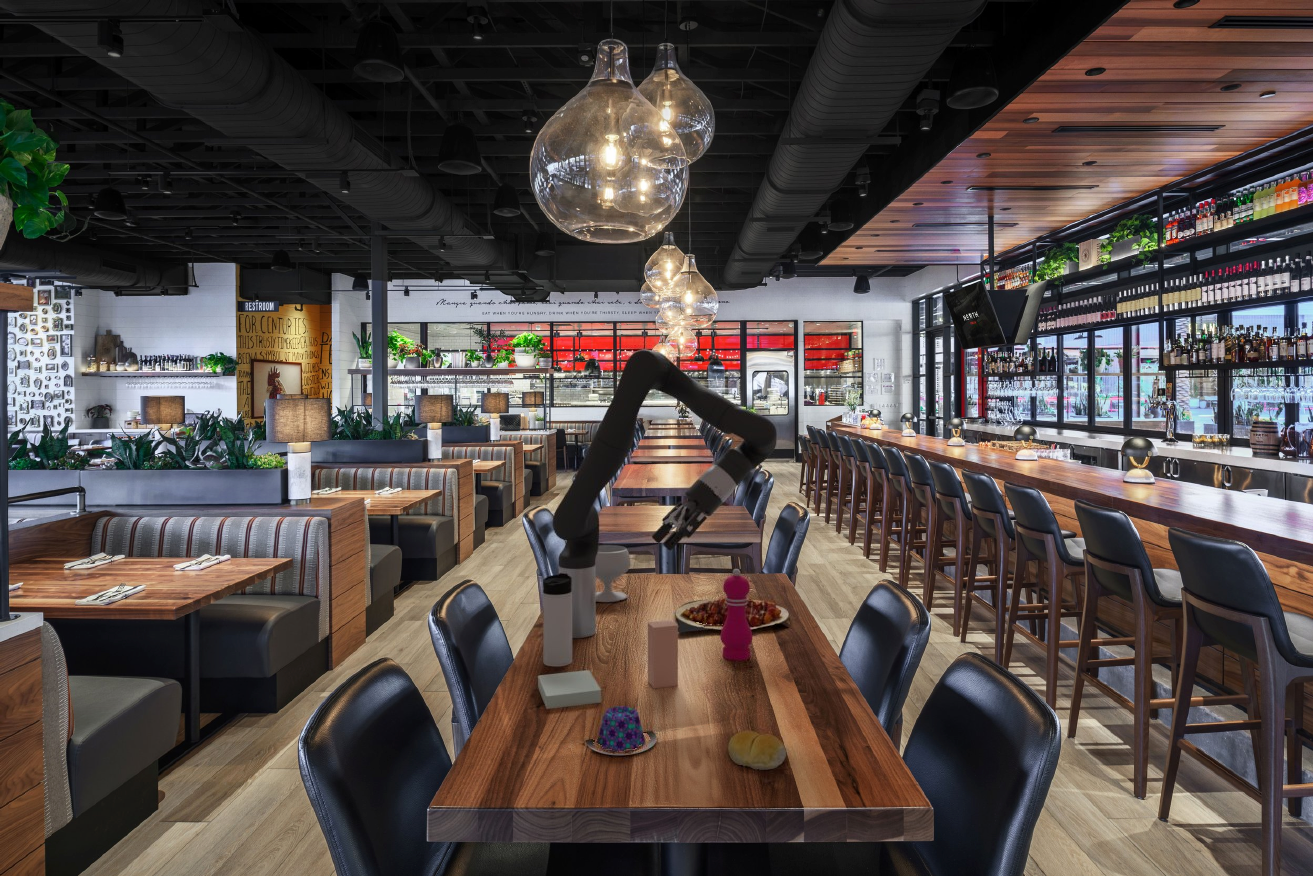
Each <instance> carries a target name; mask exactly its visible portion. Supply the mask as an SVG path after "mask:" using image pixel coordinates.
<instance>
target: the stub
mask: <svg viewBox="0 0 1313 876" xmlns="http://www.w3.org/2000/svg"><path fill="white" fill-rule="evenodd" d="M678 627H679V624H677V622H675V621H673V620H672V619H668V620H658V621H657V620H655V621H648V622H647V682H648V684H649V685H650V686H651V687H652V688H653V689H662V688H668V687H670V688H671V687H676V686H679V632H678Z"/></svg>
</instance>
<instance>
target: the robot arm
mask: <svg viewBox="0 0 1313 876" xmlns="http://www.w3.org/2000/svg"><path fill="white" fill-rule="evenodd" d="M651 390H656V391H658V392H661V393H663V394H666V395H668V396H670V397H672V398H674V399H676V400H677V401H679V402H680V403H682V404H683V405H684V406H685V407H687V408H688V409H689V410H690V411H691V412H692V413H693V414H695V416H696V417H698V418H700V419H701V420H703V422H705V423H707V424H708V425H710V426H712V427H713V428H715V429H716V430H718V431H720V432H722V433H724V434H725V435H732V434H733V435H735V436H736V437H739V438H740V439H742V441H741V442H740V443H739V444H738V445H737V446H736V447H735V448H730V449H727V450H726V451H725V452H724V453H723V454H722V455H721V456H720V457H719V458H718V459H717V460H716V461H715V463H713V464H712V465H711V466H710V467H709V468H707V470H705V471H704V472H703V473H702V474H701V476H700V477H698V479H697V480H696V481H695V482H693V483H692V485H691V486H690V487H689V488H688V489H687V490H686V491H685V492H684V493H685V494H684V495H685V497H686V499H687V501H686V502H685V503H684V504H683V502H682V501H679V502H677V504H675V506H674V507H673V508H671V509H670V511H669V512H668V513H667V514H666V515H664V516H663V518H662V520H661V521H662V522H661V523H662V525H660V527H659V528H658V529H657V530H656V531H654V533H653V534H652V535H651V538H652V540H654V541H655V542H656V543H657V544H660V543H661V542H662V541H663V540H664V539H665V538H666V536H668V534H669V533H670V532H671V531H672V533H671V534H670V535H669V536H668V537H667V538H666V539H665V540H664V541H663V543H662V545H663V546H664V547H665V548H666V549H667V550H668V551H672V550H673V549H674V548H675V547H676V546H677V545H678V544H679V543H680V542H681V540H682V539H685V538H687V539H689V538H691V537H692V536H693V535H694V534H695V532H697V530H698V529H699V528H700V527H701V526H702V524H704V522H705V521H706V520H707V519H708V518H707V517H711V516H712V515H713V514H714V513H715V512H716V510H717V509H719V508H720V507H721V505H722V504H723V503H724V502H725V501H727V499H728V498H729V497H730V496H731V494H733V491H735V489H736V488H737V487H738V486H739V484H741V483H742V482H743V480H745V478H746V477H747V476H748V475H749V473H750V472H751V471H753V470H754V469H756V468H757V467H758V466H760V465H761V464H762V463H763V462H764V461H766V460H767V459H768V457H770V456H771V454H772V453H773V452H774V450H775V449H776V447H777V437H778V436H777V428H776V426H775V425H774V423H773V422H772V421H771V420H770V419H768V417H766V416H764V415H761V414H759V413H757V412H754V411H752V410H749V409H747V408H743V407H740V406H738V405H737V404H736V403H734V402H733V401H731V400H729V399H728V398H727V397H725V396H723V395H720V394H719V393H717V392H716V391H714V390H712V389H710V388H708V387H707V386H704V385H703V384H701V383H700V382H699V381H697V380H695V379H694V378H692V377H691V376H689V375H688V374H687V373H685V372H684V371H683V370H681V368H679V367H678V366H677V365H676V364H675V363H673V361H671V360H670V359H669V358H668V357H667V356H665V354H663V353H661V352H660V351H656V350H652V349H651V350H650V349H646V348H645V349H639V350H637V351H634V352H633V353H632V354H631V355H630V356H629V357H628V359H627V361H626V363H625V365H624V368H623V371H622V372H621V376H620V378H619V382H618V383H617V387H616V389H615V392H614V395H613V398H611V399H612V400H611V401H610V403H609V405H608V407H607V410H606V411H605V414H604V416H603V418H602V420H601V422H600V424H599V426H598V428H597V430H596V432H595V434H594V436H593V438H592V440H591V442H590V444H589V447H588V449H587V451H586V453H585V456H584V458H583V460H582V462H581V464H580V466H579V468H578V470H577V472H576V475H575V477H574V479H573V481H572V483H571V485H570V487H569V488H568V489H567V491H566V493H565V494H564V497H563V498H562V500H561V501H560V503H559V504H558V506H557V508H556V510H555V511H554V514H553V518H552V528H553V531H554V534H556V537H558V539H560V540H563V541H565V545H564V547H563V549H562V551H561V552H560V553H559V555H558V575H559V574H560V573H566V574H568V576H570V577H571V578H572V587H571V588H572V639H583V638H588V637H591V636H594V635H595V634H596V632H597V631H596V630H597V629H596V627H597V624H596V623H597V621H596V618H597V610H596V608H597V604H596V588H597V586H596V581H597V579H596V578H597V577H595V560H596V556H597V553H598V547H599V546H600V544H599V543H600V540H599V539H600V517H599V512H598V509H597V508H596V507H595V505H594V503H595V502H596V500H597V497H598V496H599V495H600V493H601V492H602V491H603V489H604V488H605V487H606V486H607V485H608V484H609V482H610V481H611V480H612V479H613V478H614V477H615V475H616V474H618V472H619V470H621V468H622V466H623V465H624V464H625V463H624V462H625V460H626V458H627V457H628V455H629V453H630V450H631V449H632V445H633V443H634V439H635V436H636V435H635V434H636V427H637V426H636V425H637V419H638V416H639V411H640V410H641V407H642V405H643V404H644V401H645V400H646V398H647V396H648V394H649V392H650V391H651ZM674 529H675V530H674ZM673 530H674V531H673Z"/></svg>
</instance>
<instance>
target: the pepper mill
mask: <svg viewBox="0 0 1313 876" xmlns="http://www.w3.org/2000/svg"><path fill="white" fill-rule="evenodd" d="M722 588H723V592H724V594H725V595H726V596H725V597H724V598H725V599H726V602H725V603H726V604H727V606H728V615H727V619H726V621H725V624H724V625H722V628H721V629H722V630H720V631H721V632H720V641H721V643H722V645H724V646H723V647H722V657H723V658H724V659H726V660H729V661H736V662H737V661H745V660H748V659H750V657H751V648H750V647H749V646H750V645H751V644H752V642H753V631H752V629H750V628H751V627H750V626H749V624H748V622H747V619H746V615H745V607H746V604H747V603H748V602H747V599H749V598H748V596H747V595H748V594H749V593H750V589H751V586H750V582H749V581H748V579H747V578H746V577H744V576H742V575H741V571H740V569H738V568H734V569H733V570H732V575H730V576H728V577H727V578H725V580H724V581H723V587H722Z"/></svg>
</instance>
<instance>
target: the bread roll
mask: <svg viewBox="0 0 1313 876" xmlns="http://www.w3.org/2000/svg"><path fill="white" fill-rule="evenodd" d="M728 742H729V743H728V754H729V757H730V759H731V760H732V761H733V762H734V764H737V765H740V766H741V765H743V767H745V766H747V767H750V768H752V769H754V770H758V769H759V771H764V770H765V771H767V770H773V769H776V768H777V767H779V766H780V765H782V764H783V762H784V761H785V759H786V755H787V749H786V747H785V745H784V743H783V742H782V741H781V740H780V739H779V738H778V737H776V735H773V734H770V733H764V734H760V733H757V732H756V731H754V730H751V729H750V730H742V731H739V732H737V733H736V734H734V735H733V736H732V737H731V739H730V740H729V741H728Z"/></svg>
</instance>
